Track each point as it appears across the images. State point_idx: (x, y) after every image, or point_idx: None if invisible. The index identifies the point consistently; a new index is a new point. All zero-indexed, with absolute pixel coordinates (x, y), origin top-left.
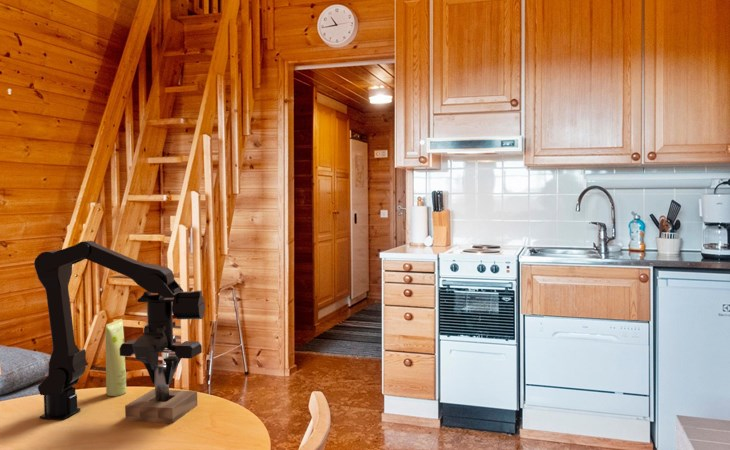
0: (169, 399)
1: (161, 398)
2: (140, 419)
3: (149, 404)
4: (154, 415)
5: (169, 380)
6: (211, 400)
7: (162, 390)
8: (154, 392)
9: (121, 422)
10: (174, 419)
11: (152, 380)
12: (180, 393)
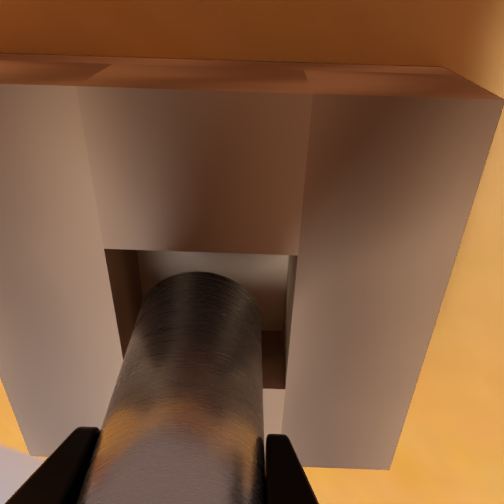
0: None
1: (169, 288)
2: (295, 65)
3: (228, 165)
4: (142, 69)
5: (43, 478)
6: None
7: (143, 351)
8: (345, 421)
9: (466, 15)
10: None
11: (290, 472)
12: None
